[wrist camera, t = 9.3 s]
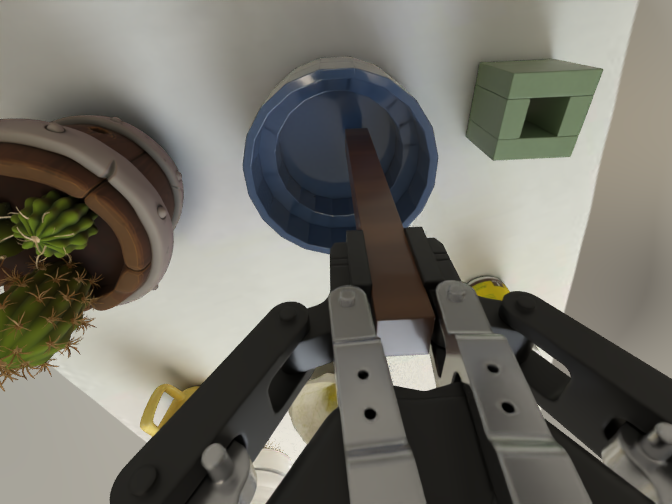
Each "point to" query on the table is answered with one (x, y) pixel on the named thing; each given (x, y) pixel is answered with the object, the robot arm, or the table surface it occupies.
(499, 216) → the table surface
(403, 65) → the table surface
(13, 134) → the flowerpot
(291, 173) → the blue round tub
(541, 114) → the stick holder
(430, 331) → the brown stick
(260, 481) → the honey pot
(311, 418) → the bowl
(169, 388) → the mug
